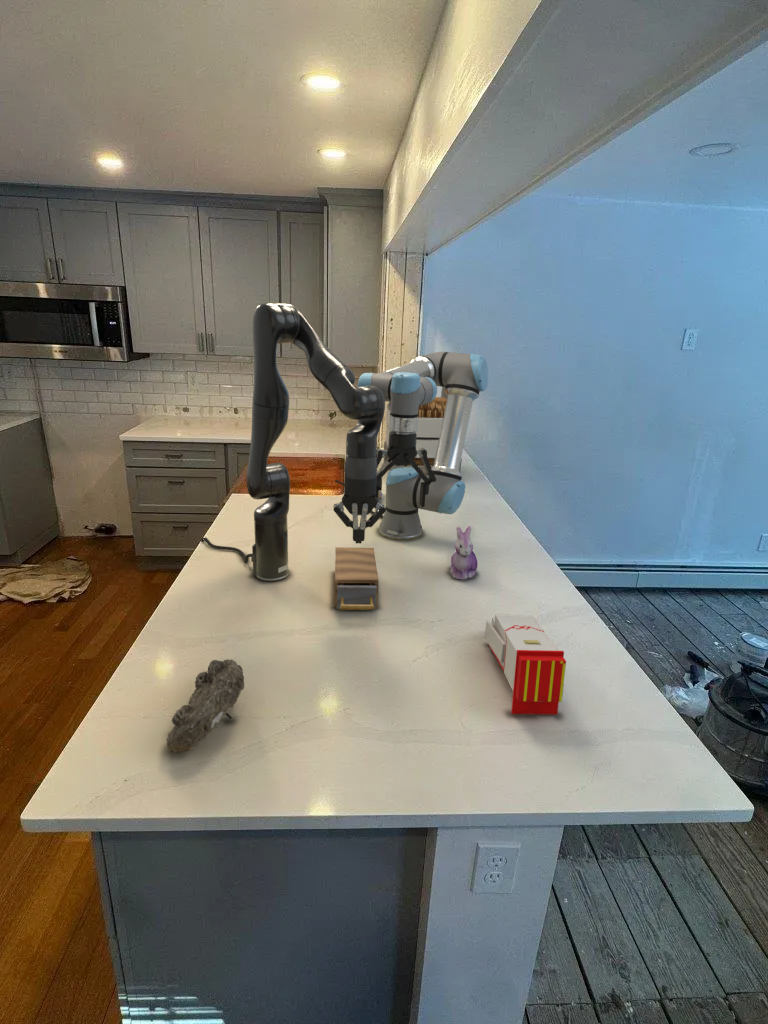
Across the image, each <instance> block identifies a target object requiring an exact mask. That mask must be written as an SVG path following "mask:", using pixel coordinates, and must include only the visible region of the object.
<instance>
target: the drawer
mask: <svg viewBox="0 0 768 1024" xmlns="http://www.w3.org/2000/svg"><path fill="white" fill-rule="evenodd" d="M376 589H377V587H376V585H372V583H340V585H337V608H336V609H337V610H341V611H374V610H376V609H377V608H376Z"/></svg>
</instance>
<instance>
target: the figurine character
mask: <svg viewBox="0 0 768 1024" xmlns="http://www.w3.org/2000/svg"><path fill="white" fill-rule="evenodd" d="M377 484H378V500H379V499H380V500H381V499H382V496H383V492H382V491H383V477H382V478H381V479H380V480H379V481H378V482H377Z"/></svg>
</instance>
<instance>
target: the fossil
mask: <svg viewBox="0 0 768 1024" xmlns="http://www.w3.org/2000/svg"><path fill="white" fill-rule="evenodd" d="M243 670H244V669H243V667H242V665H240V664H237V662H236V661H235V660H234V659H232V658H231V659H227V658H226V659H224V660H223V661H222V660H217V659H212V660H211V661H210V663H209V665H208V666H207V671H201V672H199V673H198V674H197V675H196V676H195V680H194V684H195V685H194V687H195V689H194V690H193V693H192V694H191V697H190V698H189V700H188V704H184V705H182V706H181V707H180V709H177V710H176V711H175V713H174V715H173V716H172V718H171V723H172V724H173V727H172V730H171V731H170V732H168V734H167V738H166V741H167V742H166V745H167V749H168V750H169V751H173V752H174V753H176V754H178V753H182V752H188V751H189V752H192V751H193V750H195V748H196V747H197V746H199V744H200V743H201V742H203V741H204V740H205V739H206V738H207V737H208V736H209V735H210V734H211V733H212V732H214V730H215V729H217V727H218V726H219V724H220V722H221V721H222V720H223V719H224V718H225V716H226V717H227V719H229V720H233V717H232V715H230V714H229V710H230V709H231V708H234V706H235V704H236V703H237V702H238V699H239V697H240V695H241V693H242V691H243V690H245V689H244V688H245V675H244V671H243Z"/></svg>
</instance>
